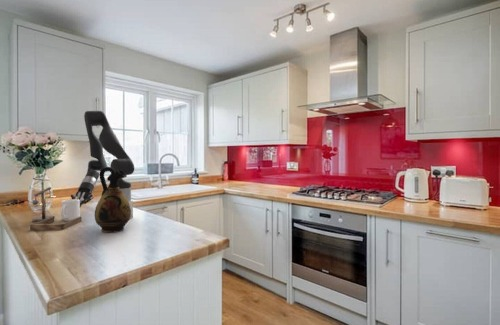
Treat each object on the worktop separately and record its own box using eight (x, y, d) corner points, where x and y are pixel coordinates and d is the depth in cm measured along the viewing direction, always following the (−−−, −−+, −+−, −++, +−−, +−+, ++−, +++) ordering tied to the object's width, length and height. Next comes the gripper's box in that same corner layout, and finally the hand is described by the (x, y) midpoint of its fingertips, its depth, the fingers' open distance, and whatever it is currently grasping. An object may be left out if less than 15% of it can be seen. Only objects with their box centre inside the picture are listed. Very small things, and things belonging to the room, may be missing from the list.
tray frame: (81, 221, 140) (81, 216, 140) (63, 229, 125) (62, 224, 125) (52, 221, 139) (52, 217, 139) (30, 230, 124) (30, 224, 124)
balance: (59, 216, 151) (58, 186, 151) (38, 223, 135) (37, 190, 134) (48, 216, 151) (47, 186, 150) (26, 223, 135) (25, 190, 134)
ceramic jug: (137, 225, 132) (135, 166, 131) (121, 234, 117) (119, 167, 116) (103, 225, 132) (102, 166, 131) (83, 234, 117) (82, 167, 116)
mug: (69, 222, 137) (69, 203, 137) (53, 222, 137) (52, 203, 136) (83, 217, 149) (82, 199, 149) (68, 217, 149) (67, 199, 148)
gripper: (74, 181, 158) (60, 205, 146) (96, 181, 158) (85, 205, 147) (79, 188, 163) (67, 213, 152) (101, 188, 164) (90, 212, 152)
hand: (76, 209), depth 149 cm, fingers closed
